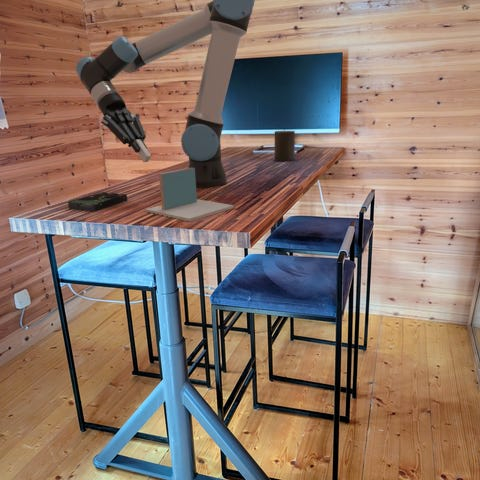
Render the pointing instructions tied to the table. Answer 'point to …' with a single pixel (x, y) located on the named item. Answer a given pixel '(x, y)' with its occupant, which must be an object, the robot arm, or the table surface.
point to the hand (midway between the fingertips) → (147, 159)
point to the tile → (177, 188)
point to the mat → (192, 210)
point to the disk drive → (97, 201)
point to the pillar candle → (284, 145)
